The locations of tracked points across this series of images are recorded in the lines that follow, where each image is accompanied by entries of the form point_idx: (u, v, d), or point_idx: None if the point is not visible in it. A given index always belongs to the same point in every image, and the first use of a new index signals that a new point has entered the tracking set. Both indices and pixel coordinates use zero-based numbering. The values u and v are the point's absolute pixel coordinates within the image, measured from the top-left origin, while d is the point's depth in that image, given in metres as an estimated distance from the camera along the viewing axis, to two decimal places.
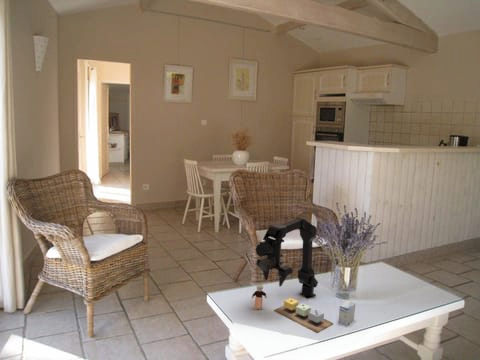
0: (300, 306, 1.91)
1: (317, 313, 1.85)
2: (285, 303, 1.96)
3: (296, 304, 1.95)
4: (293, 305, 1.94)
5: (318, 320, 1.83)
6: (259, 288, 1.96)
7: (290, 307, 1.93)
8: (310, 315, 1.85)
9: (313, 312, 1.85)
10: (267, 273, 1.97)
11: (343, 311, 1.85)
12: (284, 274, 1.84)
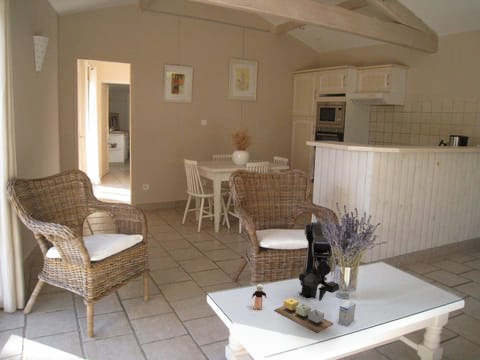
0: (300, 306, 1.91)
1: (317, 313, 1.85)
2: (285, 303, 1.96)
3: (296, 304, 1.95)
4: (293, 305, 1.94)
5: (318, 320, 1.83)
6: (259, 288, 1.96)
7: (290, 307, 1.93)
8: (310, 315, 1.85)
9: (313, 312, 1.85)
10: (315, 291, 1.85)
11: (343, 311, 1.85)
12: (331, 291, 1.74)
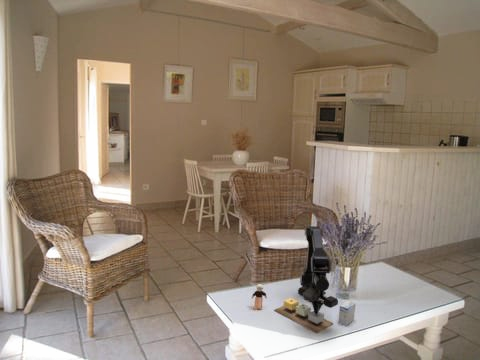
0: (300, 306, 1.91)
1: (317, 314, 1.85)
2: (285, 303, 1.96)
3: (296, 304, 1.95)
4: (293, 305, 1.94)
5: (318, 321, 1.83)
6: (259, 288, 1.96)
7: (290, 307, 1.93)
8: (310, 316, 1.85)
9: (313, 313, 1.86)
10: None
11: (343, 311, 1.85)
12: (330, 306, 1.76)
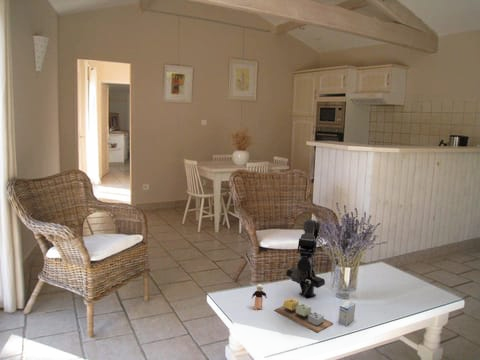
0: (300, 306, 1.91)
1: (317, 316, 1.85)
2: (285, 303, 1.96)
3: (296, 304, 1.95)
4: (293, 305, 1.94)
5: (318, 323, 1.83)
6: (259, 288, 1.96)
7: (290, 307, 1.93)
8: (310, 318, 1.85)
9: (313, 315, 1.86)
10: None
11: (343, 311, 1.85)
12: (317, 286, 1.80)
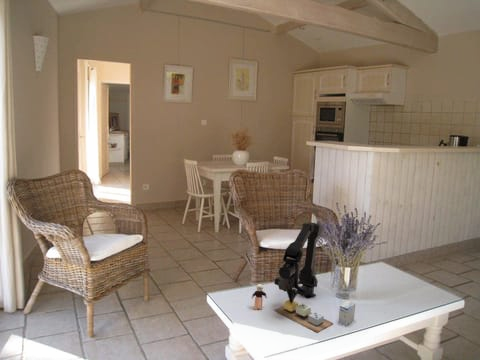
0: (300, 306, 1.91)
1: (317, 316, 1.85)
2: (285, 304, 1.96)
3: (296, 305, 1.95)
4: (293, 306, 1.94)
5: (318, 323, 1.83)
6: (259, 288, 1.96)
7: (290, 308, 1.93)
8: (310, 318, 1.85)
9: (313, 315, 1.86)
10: None
11: (343, 311, 1.85)
12: (303, 294, 1.86)
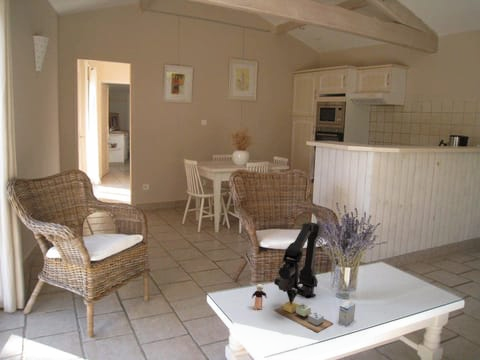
0: (300, 306, 1.91)
1: (317, 316, 1.85)
2: (285, 306, 1.96)
3: None
4: (293, 308, 1.94)
5: (318, 323, 1.83)
6: (259, 288, 1.96)
7: (290, 310, 1.94)
8: (310, 318, 1.85)
9: (313, 315, 1.86)
10: None
11: (343, 311, 1.85)
12: (303, 295, 1.86)
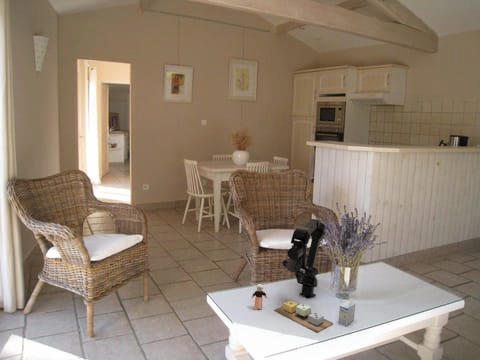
0: (300, 306, 1.91)
1: (317, 316, 1.85)
2: (285, 306, 1.96)
3: None
4: (293, 308, 1.94)
5: (318, 323, 1.83)
6: (259, 288, 1.96)
7: (290, 310, 1.94)
8: (310, 318, 1.85)
9: (313, 315, 1.86)
10: None
11: (343, 311, 1.85)
12: (311, 275, 1.92)
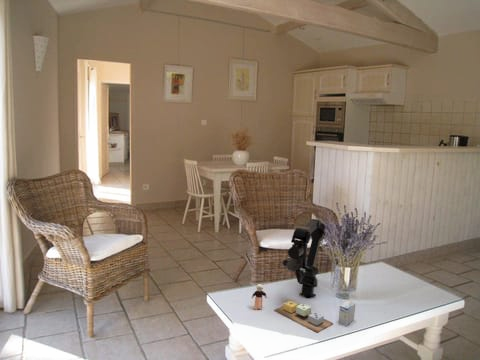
0: (300, 306, 1.91)
1: (317, 316, 1.85)
2: (285, 306, 1.96)
3: None
4: (293, 308, 1.94)
5: (318, 323, 1.83)
6: (259, 288, 1.96)
7: (290, 310, 1.94)
8: (310, 318, 1.85)
9: (313, 315, 1.86)
10: None
11: (343, 311, 1.85)
12: (311, 274, 1.92)
